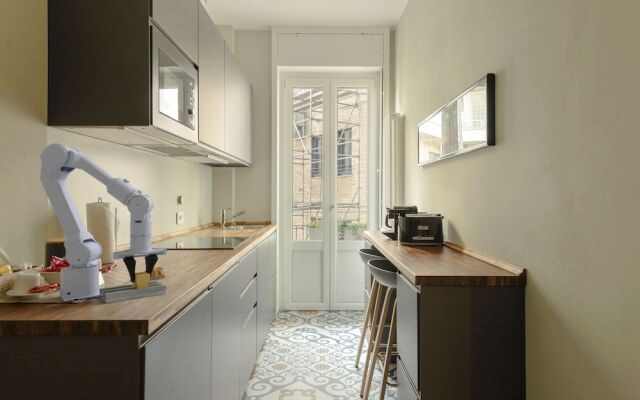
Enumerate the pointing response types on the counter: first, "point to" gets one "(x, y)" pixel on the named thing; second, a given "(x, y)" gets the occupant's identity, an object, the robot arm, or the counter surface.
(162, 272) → the pastry
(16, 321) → the counter surface
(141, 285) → the yellow block with ridge
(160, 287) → the rail
